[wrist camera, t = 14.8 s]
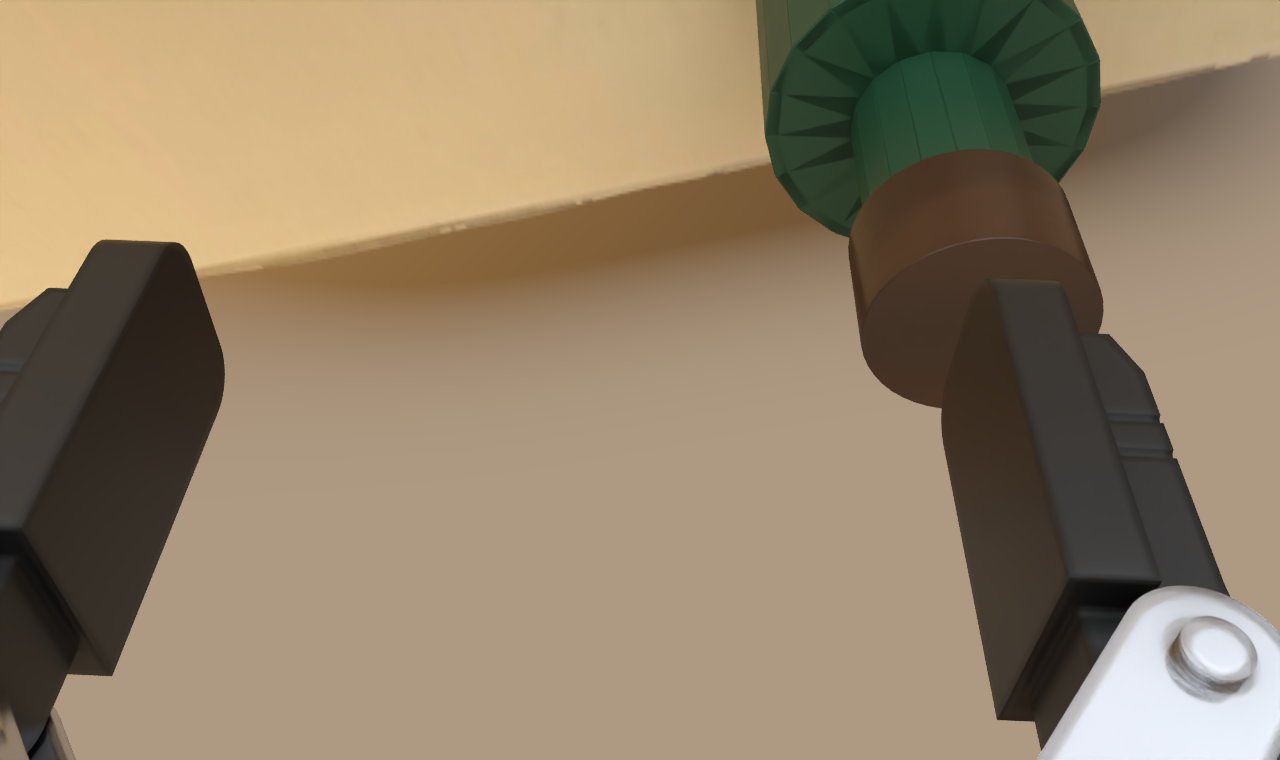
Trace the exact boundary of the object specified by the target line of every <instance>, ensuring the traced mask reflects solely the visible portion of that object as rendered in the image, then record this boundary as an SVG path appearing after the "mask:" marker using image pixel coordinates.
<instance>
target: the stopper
mask: <svg viewBox="0 0 1280 760" xmlns="http://www.w3.org/2000/svg"><path fill="white" fill-rule="evenodd" d="M848 249H849V261H850V269H851V276H852V283H853V290H854V297H855V304H856V312H857V319H858V326H859V333H860V340H861V347H862V351H863V355H864V358H865V360H866V362H867V365H868V367H869V368H870V369H871V371H872V372H873V374H874V375H875V376H876V377H877V379H879V381H880V382H881V383H882V384H883V385H885V386H886V387H887V388H889V389H890V390H891V391H893V392H894V393H896V394H898V395H900V396H902V397H903V398H906V399H908V400H911V401H913V402H916V403H919V404H923V405H926V406H931V407H937V408H942V400H943V392H944V387H945V383H946V379H947V376H948V372H949V369H950V366H951V363H952V359H953V356H954V353H955V350H956V346H957V343H958V340H959V337H960V333H961V330H962V327H963V324H964V321H965V317H966V314H967V311H968V308H969V304H970V301H971V298H972V295H973V292H974V289H975V287H976V285H977V283H978V282H979V280H981V279H982V278H1003V279H1028V280H1052V281H1058V282H1059V283H1061V284H1062V286H1063V287H1064V289H1065V292H1066V294H1067V297H1068V300H1069V303H1070V306H1071V309H1072V312H1073V315H1074V318H1075V321H1076V324H1077V327H1078V330H1079V333H1091V334H1098V332H1099V329H1100V327H1101V323H1102V317H1103V298H1102V294H1101V290H1100V287H1099V284H1098V281H1097V279H1096V276H1095V273H1094V270H1093V268H1092V265H1091V262H1090V260H1089V257H1088V254H1087V251H1086V249H1085V246H1084V243H1083V240H1082V238H1081V235H1080V232H1079V230H1078V227H1077V224H1076V221H1075V219H1074V216H1073V213H1072V211H1071V208H1070V205H1069V202H1068V200H1067V198H1066V195H1065V193H1064V191H1063V189H1062V188H1061V186H1060V185H1059V184H1058V182H1057V181H1056V180H1055V179H1054V178H1053V177H1052V176H1051V175H1050V174H1049V173H1048V172H1047V171H1046V170H1044V169H1043V168H1042V167H1040V166H1039V165H1037V164H1035V163H1034V162H1032V161H1030V160H1028V159H1026V158H1023V157H1020V156H1018V155H1015V154H1012V153H1007V152H1002V151H997V150H987V149H967V150H959V151H952V152H947V153H943V154H938V155H935V156H932V157H929V158H926V159H923V160H921V161H919V162H916V163H914V164H912V165H910V166H908V167H906V168H904V169H903V170H901V171H899V172H898V173H896V174H895V175H893V176H892V177H891V178H889V179H888V180H886V181H885V182H884V183H883V184H882V185H881V186H880V187H878V188H877V189H876V190H875V191H874V192H873V193H872V195H871V196H870V197H869V198H868V199H867V201H866V202H865V203H864V205H863V206H862V208H861V209H860V211H859V213H858V214H857V217H856V219H855V221H854V223H853V226H852V229H851V233H850V237H849V247H848Z"/></svg>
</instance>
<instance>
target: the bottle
mask: <svg viewBox="0 0 1280 760" xmlns="http://www.w3.org/2000/svg"><path fill="white" fill-rule="evenodd" d="M756 10H757V25H758V40H759V55H760V69H761V84H762V99H763V114H764V129H765V139H766V143H767V146H768V150H769V154H770V158H771V162H772V165H773V169H774V173H775V175H776V178H777V179H778V180H779V182H780V183H781V184H782V186H783V187H784V189H785V190H786V191H787V192H788V194H789V195H790V197H791V198H792V200H793V201H794V202H795V204H796V205H797V206H798V208H800V210H802V211H803V212H804V213H806V214H807V215H809V216H810V217H812V218H813V219H815V220H816V221H818V222H819V223H821V224H822V225H823V226H825V227H826V228H828V229H829V230H831V231H832V232H835V233H836V234H839V235H842V236H846V237H850V233H851V229H852V226H853V223H854V221H855V219H856V217H857V214H858V213H859V211H860V209H861V208H862V206H863V205H864V203H865V202H866V201H867V199H868V198H869V197H870V196H871V195H872V193H873V192H874V191H875V190H876V189H877V188H878V187H880V186H881V185H882V184H883V183H884V182H885V181H886V180H888V179H889V178H891V177H892V176H893V175H895V174H896V173H898V172H899V171H901V170H903V169H904V168H906V167H908V166H910V165H912V164H914V163H916V162H919V161H921V160H923V159H926V158H929V157H932V156H935V155H938V154H943V153H947V152H952V151H959V150H967V149H987V150H997V151H1002V152H1007V153H1012V154H1015V155H1018V156H1020V157H1023V158H1026V159H1028V160H1030V161H1032V162H1034V163H1035V164H1037V165H1039V166H1040V167H1042V168H1043V169H1044V170H1046V171H1047V172H1048V173H1049V174H1050V175H1051V176H1052V177H1053V178H1054V179H1055V180H1056V181H1057V182H1058V183H1059V182H1060V181H1061V179H1062V178H1063V177H1064V175H1065V174H1066V173H1067V171H1068V170H1069V169H1070V168H1071V166H1072V165H1073V164H1074V162H1075V161H1076V160H1077V158H1078V157H1079V156H1080V154H1081V153H1082V152H1083V150H1084V148H1085V146H1086V144H1087V141H1088V138H1089V135H1090V132H1091V130H1092V127H1093V124H1094V121H1095V118H1096V116H1097V113H1098V110H1099V108H1100V103H1101V99H1100V98H1101V93H1100V59H1099V56H1098V53H1097V51H1096V49H1095V47H1094V44H1093V42H1092V40H1091V38H1090V36H1089V33H1088V31H1087V29H1086V27H1085V24H1084V22H1083V20H1082V18H1081V16H1080V14H1079V11H1078V9H1077V7H1076V5H1075V3H1074V1H1073V0H756Z"/></svg>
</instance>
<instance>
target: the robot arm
mask: <svg viewBox="0 0 1280 760" xmlns="http://www.w3.org/2000/svg"><path fill="white" fill-rule="evenodd" d="M224 371H225V370H224V359H223V353H222V349H221V346H220V343H219V340H218V337H217V334H216V331H215V328H214V325H213V322H212V319H211V316H210V313H209V311H208V308H207V305H206V302H205V299H204V296H203V293H202V290H201V287H200V284H199V281H198V278H197V275H196V272H195V269H194V266H193V263H192V260H191V258H190V256H189V254H188V252H187V250H186V249H185V248H184V246H183V245H181V244H180V243H176V242H154V241H130V240H101V241H99V242H97V243H96V244H95V245H94V246H93V248H92V249H91V251H90V252H89V254H88V255H87V257H86V259H85V261H84V262H83V264H82V266H81V267H80V269H79V271H78V273H77V274H76V276H75V278H74V279H73V281H72V283H71V285H70V286H69V288H68V289H62V288H47V289H46V290H45V291H44V292H43V293H41V294H40V295H39V296H38V297H36V298H35V299H34V300H33V301H31V302H30V303H29V304H28V305H26V306H25V307H24V308H23V309H22V310H20V311H19V312H18V313H17V314H15V315H14V316H13V317H12V318H10V319H9V320H8V321H7V322H6V323H5V324H4V326H3V328H2V329H1V331H0V760H76V759H75V756H74V753H73V751H72V748H71V745H70V743H69V740H68V737H67V735H66V732H65V730H64V727H63V725H62V722H61V719H60V717H59V715H58V713H57V711H56V710H55V708H54V707H53V706H54V703H55V701H56V699H57V696H58V694H59V692H60V689H61V687H62V685H63V683H64V680H65V678H66V675H67V674H78V675H98V676H99V675H100V676H112V675H113V672H114V670H115V667H116V665H117V662H118V660H119V657H120V655H121V652H122V650H123V647H124V645H125V642H126V640H127V637H128V635H129V632H130V630H131V627H132V625H133V623H134V620H135V617H136V615H137V612H138V610H139V607H140V605H141V603H142V600H143V597H144V595H145V593H146V590H147V587H148V585H149V582H150V580H151V578H152V575H153V573H154V570H155V568H156V565H157V562H158V560H159V558H160V555H161V553H162V550H163V548H164V545H165V543H166V540H167V538H168V535H169V533H170V530H171V528H172V525H173V523H174V520H175V518H176V515H177V513H178V510H179V508H180V505H181V503H182V500H183V498H184V495H185V493H186V490H187V488H188V485H189V483H190V480H191V478H192V476H193V473H194V470H195V468H196V465H197V463H198V460H199V458H200V456H201V453H202V451H203V448H204V446H205V443H206V441H207V438H208V436H209V433H210V431H211V428H212V426H213V423H214V421H215V418H216V416H217V413H218V411H219V407H220V405H221V401H222V396H223V391H224V378H225V377H224V376H225V372H224ZM941 415H942V416H941V417H942V418H941V419H942V420H941V422H942V423H941V424H942V437H943V444H944V450H945V455H946V460H947V465H948V470H949V475H950V480H951V486H952V490H953V496H954V501H955V506H956V511H957V516H958V522H959V527H960V532H961V537H962V542H963V547H964V552H965V558H966V562H967V568H968V573H969V578H970V583H971V588H972V593H973V598H974V604H975V609H976V614H977V619H978V624H979V629H980V635H981V639H982V645H983V650H984V655H985V660H986V665H987V671H988V676H989V681H990V686H991V691H992V696H993V701H994V707H995V712H996V717H997V720H1012V721H1033V722H1035V724H1036V729H1037V734H1038V738H1039V743H1040V747H1041V753H1040V755H1039V756H1038V758H1037V759H1036V760H1280V634H1279V632H1278V631H1277V630H1276V629H1275V628H1274V627H1273V626H1272V625H1271V624H1270V623H1269V622H1268V621H1267V620H1265V619H1264V618H1263V617H1262V616H1260V615H1259V614H1258V613H1257V612H1255V611H1254V610H1252V609H1251V608H1249V607H1248V606H1246V605H1244V604H1243V603H1241V602H1239V601H1237V600H1235V599H1233V598H1231V597H1230V595H1229V593H1228V591H1227V589H1226V587H1225V584H1224V582H1223V579H1222V577H1221V574H1220V571H1219V569H1218V566H1217V564H1216V561H1215V558H1214V556H1213V553H1212V550H1211V548H1210V545H1209V542H1208V540H1207V537H1206V534H1205V532H1204V529H1203V526H1202V524H1201V521H1200V519H1199V516H1198V513H1197V511H1196V508H1195V505H1194V503H1193V500H1192V497H1191V495H1190V492H1189V490H1188V487H1187V484H1186V482H1185V479H1184V476H1183V474H1182V471H1181V469H1180V466H1179V464H1178V461H1177V459H1175V458H1173V455H1172V453H1173V447H1172V445H1171V442H1170V439H1169V437H1168V434H1167V431H1166V429H1165V426H1164V424H1163V423H1160V421H1159V418H1160V413H1159V410H1158V408H1157V405H1156V402H1155V400H1154V397H1153V394H1152V392H1151V389H1150V386H1149V384H1148V381H1147V379H1146V376H1145V373H1144V372H1143V371H1142V370H1141V368H1140V367H1139V366H1138V365H1137V364H1136V363H1135V362H1134V361H1133V360H1132V359H1131V358H1130V356H1129V355H1128V354H1127V353H1126V352H1125V351H1124V350H1123V349H1122V348H1121V347H1120V346H1119V345H1118V344H1117V342H1116V341H1115V340H1114V339H1113V338H1112V337H1111V336H1110V335H1109V334H1091V333H1079V330H1078V327H1077V324H1076V321H1075V318H1074V315H1073V312H1072V309H1071V306H1070V303H1069V300H1068V297H1067V294H1066V292H1065V289H1064V287H1063V286H1062V284H1061V283H1059V282H1058V281H1052V280H1028V279H1003V278H982V279H981V280H979V282H978V283H977V285H976V287H975V289H974V292H973V295H972V298H971V301H970V304H969V308H968V311H967V314H966V317H965V321H964V324H963V327H962V330H961V333H960V337H959V340H958V343H957V346H956V350H955V353H954V356H953V359H952V363H951V366H950V369H949V372H948V376H947V379H946V383H945V387H944V392H943V400H942V414H941Z"/></svg>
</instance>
